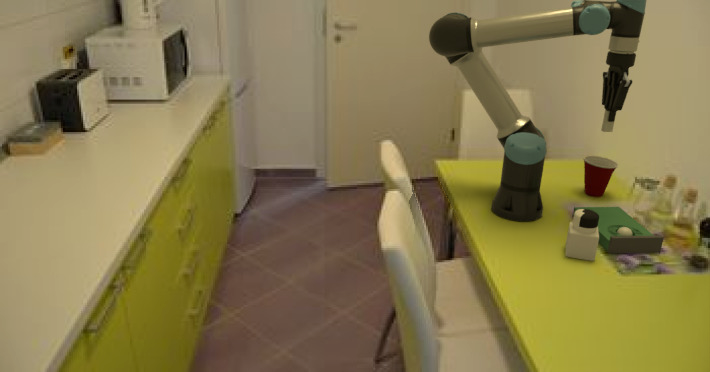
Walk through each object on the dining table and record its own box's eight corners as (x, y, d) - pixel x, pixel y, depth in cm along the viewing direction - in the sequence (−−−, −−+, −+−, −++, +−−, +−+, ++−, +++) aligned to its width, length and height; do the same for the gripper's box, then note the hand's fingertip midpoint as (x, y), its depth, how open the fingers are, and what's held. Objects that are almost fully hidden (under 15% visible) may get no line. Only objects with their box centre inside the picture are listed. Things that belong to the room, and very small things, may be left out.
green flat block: (609, 253, 152) (612, 238, 150) (572, 216, 174) (574, 202, 172) (660, 252, 153) (663, 237, 152) (617, 215, 175) (619, 202, 173)
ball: (625, 242, 155) (617, 229, 156) (619, 245, 159) (611, 232, 160) (638, 235, 156) (629, 223, 157) (631, 239, 160) (623, 226, 161)
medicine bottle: (593, 249, 154) (601, 208, 150) (594, 261, 148) (603, 219, 143) (565, 244, 156) (572, 204, 152) (565, 256, 150) (572, 215, 145)
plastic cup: (613, 202, 184) (621, 167, 180) (578, 198, 187) (584, 163, 183) (610, 190, 194) (617, 156, 189) (576, 186, 197) (582, 153, 192)
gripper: (647, 55, 158) (629, 137, 167) (623, 48, 170) (608, 125, 179) (620, 55, 157) (605, 137, 166) (598, 47, 169) (585, 125, 178)
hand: (606, 131), depth 173 cm, fingers closed
